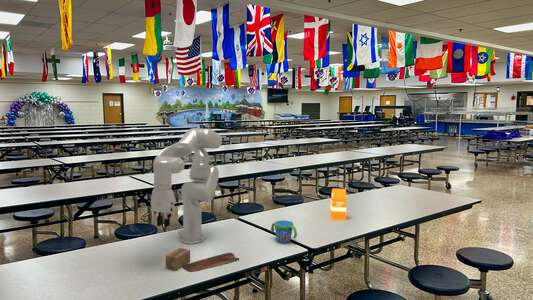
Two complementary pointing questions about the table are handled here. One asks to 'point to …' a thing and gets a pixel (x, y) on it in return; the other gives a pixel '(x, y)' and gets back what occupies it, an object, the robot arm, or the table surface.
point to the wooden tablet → (210, 262)
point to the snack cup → (283, 230)
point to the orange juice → (338, 204)
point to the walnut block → (177, 259)
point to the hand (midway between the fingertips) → (163, 225)
